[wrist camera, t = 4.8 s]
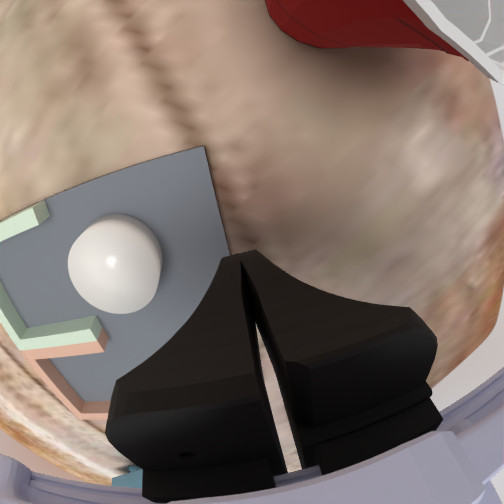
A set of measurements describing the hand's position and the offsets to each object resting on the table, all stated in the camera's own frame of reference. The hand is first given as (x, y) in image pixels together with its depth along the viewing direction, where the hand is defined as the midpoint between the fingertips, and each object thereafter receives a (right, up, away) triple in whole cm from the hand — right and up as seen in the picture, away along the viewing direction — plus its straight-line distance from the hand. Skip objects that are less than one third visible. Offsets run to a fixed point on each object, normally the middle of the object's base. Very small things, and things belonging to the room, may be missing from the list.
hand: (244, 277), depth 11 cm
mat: (-10, -4, +7) cm, 12 cm away
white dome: (-7, +1, +4) cm, 8 cm away
